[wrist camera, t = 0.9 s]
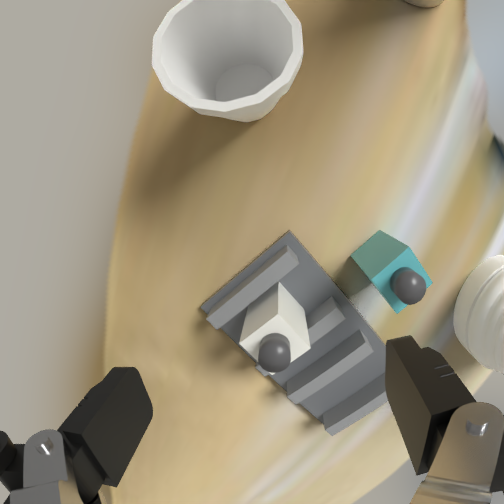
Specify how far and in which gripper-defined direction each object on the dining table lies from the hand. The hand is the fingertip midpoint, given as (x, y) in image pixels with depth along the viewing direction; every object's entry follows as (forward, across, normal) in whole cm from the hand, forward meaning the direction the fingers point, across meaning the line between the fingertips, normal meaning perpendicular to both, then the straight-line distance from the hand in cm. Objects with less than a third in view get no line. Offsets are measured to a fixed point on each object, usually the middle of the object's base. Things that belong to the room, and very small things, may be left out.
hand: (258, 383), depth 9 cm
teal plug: (+23, -10, +4) cm, 26 cm away
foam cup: (+24, 0, -15) cm, 28 cm away
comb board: (+23, -2, +12) cm, 26 cm away
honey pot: (+24, -26, +12) cm, 37 cm away
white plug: (+22, +1, +7) cm, 23 cm away
